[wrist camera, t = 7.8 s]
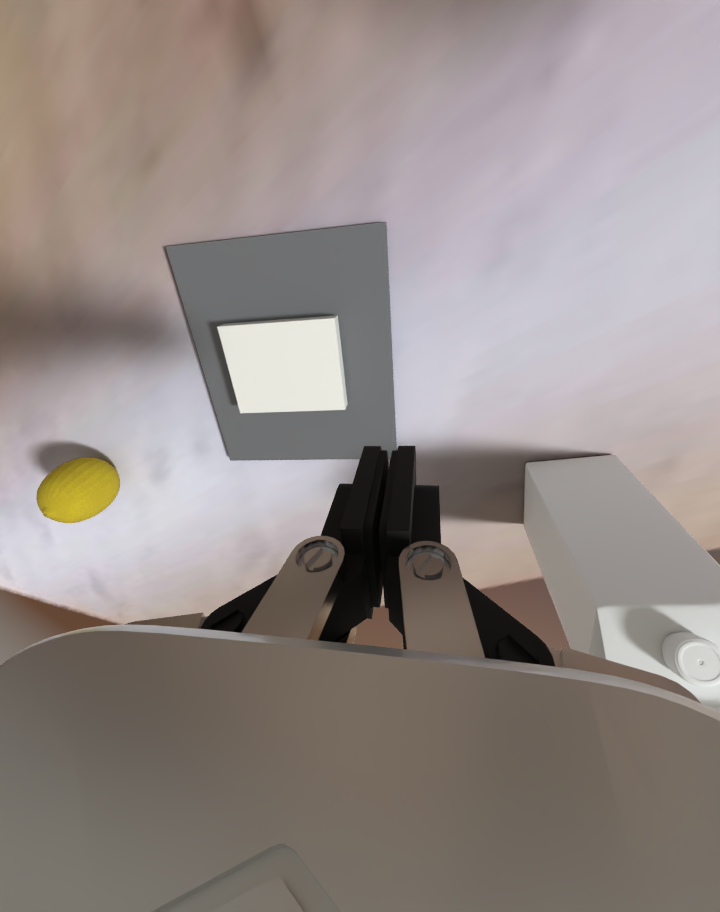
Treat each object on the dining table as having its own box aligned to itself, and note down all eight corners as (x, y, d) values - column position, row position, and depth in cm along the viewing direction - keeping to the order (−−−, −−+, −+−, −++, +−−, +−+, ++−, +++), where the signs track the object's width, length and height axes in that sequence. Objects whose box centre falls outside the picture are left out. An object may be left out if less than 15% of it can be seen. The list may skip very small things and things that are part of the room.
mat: (170, 246, 27) (165, 246, 27) (386, 222, 25) (385, 221, 24) (232, 457, 36) (230, 460, 35) (396, 455, 33) (396, 458, 33)
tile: (338, 314, 27) (226, 322, 29) (334, 318, 26) (217, 326, 27) (348, 402, 31) (247, 406, 32) (345, 409, 29) (240, 413, 31)
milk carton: (604, 519, 34) (778, 773, 18) (522, 524, 35) (614, 763, 19) (614, 453, 31) (841, 690, 14) (524, 461, 32) (636, 686, 16)
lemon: (104, 434, 37) (32, 478, 30) (147, 475, 39) (89, 525, 32) (75, 459, 39) (2, 505, 32) (117, 496, 41) (56, 547, 34)
